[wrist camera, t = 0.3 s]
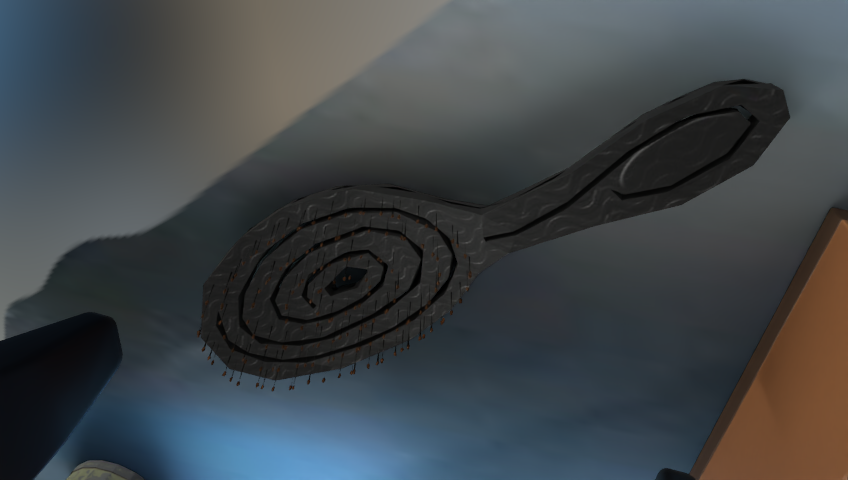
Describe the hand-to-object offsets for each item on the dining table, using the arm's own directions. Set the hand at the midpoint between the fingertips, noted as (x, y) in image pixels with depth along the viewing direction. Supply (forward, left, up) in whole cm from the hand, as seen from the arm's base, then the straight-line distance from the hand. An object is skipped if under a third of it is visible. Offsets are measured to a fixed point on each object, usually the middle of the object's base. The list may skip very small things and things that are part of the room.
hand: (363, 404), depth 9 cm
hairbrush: (-4, +1, -15) cm, 15 cm away
